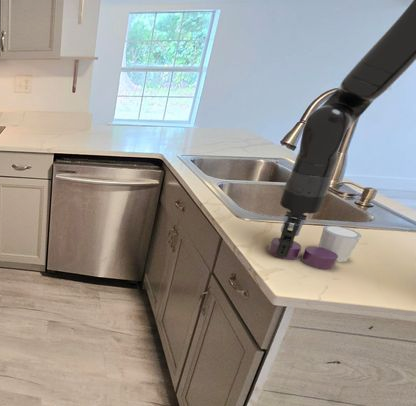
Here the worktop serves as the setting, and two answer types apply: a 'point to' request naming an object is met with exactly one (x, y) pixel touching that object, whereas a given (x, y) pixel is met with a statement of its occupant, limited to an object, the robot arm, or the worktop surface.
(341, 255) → the shot glass
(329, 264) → the purple short cylinder
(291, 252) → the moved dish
